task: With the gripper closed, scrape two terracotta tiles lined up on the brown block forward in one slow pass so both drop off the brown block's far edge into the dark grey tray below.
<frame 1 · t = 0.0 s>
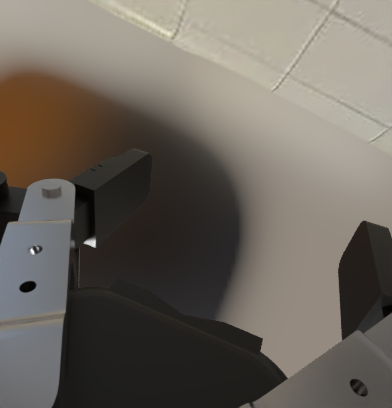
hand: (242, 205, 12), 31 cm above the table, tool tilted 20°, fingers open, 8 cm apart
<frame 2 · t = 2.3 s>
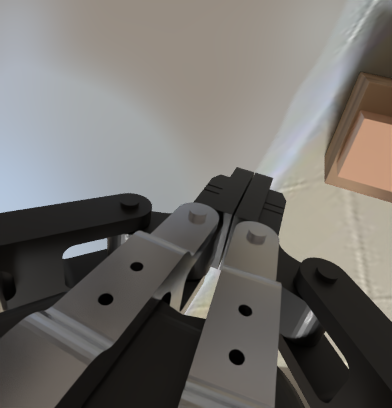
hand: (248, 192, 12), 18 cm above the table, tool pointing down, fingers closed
tile a: (377, 145, 21), point 6 cm above the table, touching brown block
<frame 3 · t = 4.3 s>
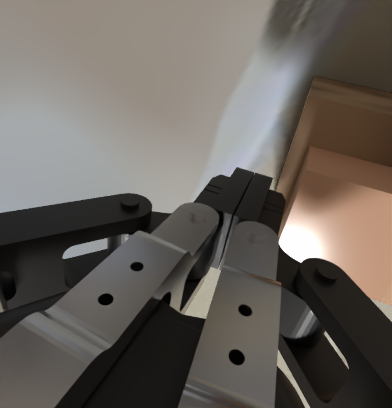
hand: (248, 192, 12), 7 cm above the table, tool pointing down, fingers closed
brown block: (372, 165, 17), on the table
tile a: (342, 205, 12), point 6 cm above the table, touching brown block, gripper, tile b
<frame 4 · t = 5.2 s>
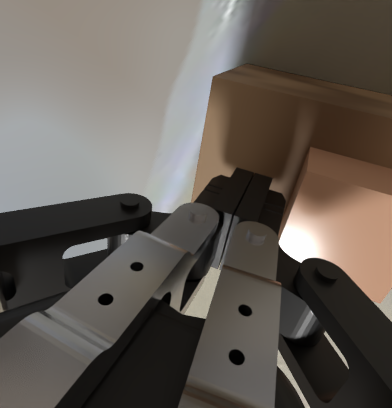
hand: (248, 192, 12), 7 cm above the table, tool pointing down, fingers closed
brown block: (305, 149, 18), on the table
tile a: (342, 206, 12), point 6 cm above the table, touching brown block, gripper
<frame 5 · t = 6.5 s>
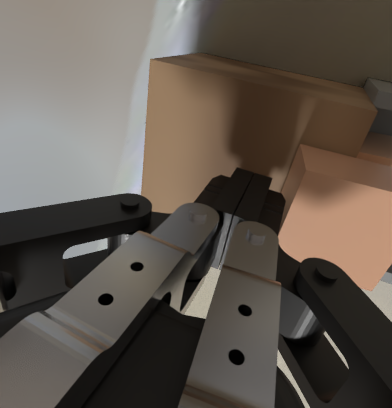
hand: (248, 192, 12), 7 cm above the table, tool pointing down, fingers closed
brown block: (258, 134, 19), on the table
tile a: (330, 200, 13), point 6 cm above the table, tilted 9°, touching brown block, gripper
tile b: (336, 175, 15), point 3 cm above the table, tilted 90°, touching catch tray
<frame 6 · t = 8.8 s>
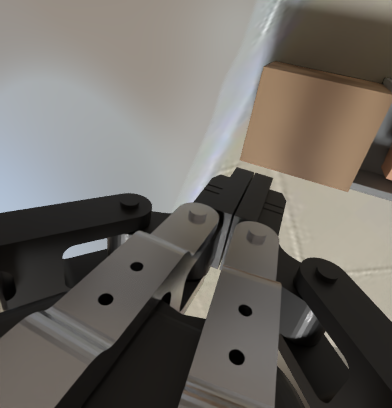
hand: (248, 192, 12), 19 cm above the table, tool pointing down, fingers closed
brown block: (310, 115, 28), on the table
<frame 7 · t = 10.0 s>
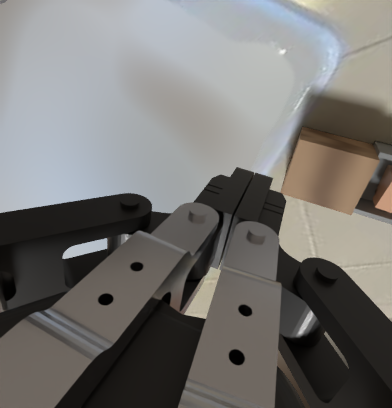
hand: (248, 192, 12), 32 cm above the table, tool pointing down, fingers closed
brown block: (325, 161, 42), on the table
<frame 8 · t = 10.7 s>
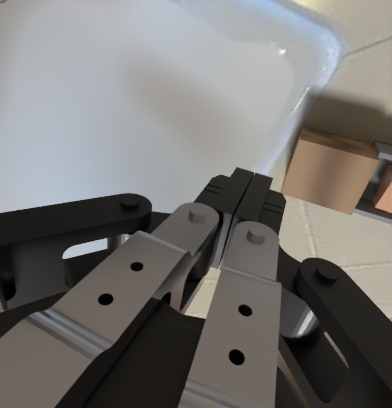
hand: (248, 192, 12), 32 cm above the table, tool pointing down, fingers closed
brown block: (325, 161, 42), on the table
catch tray: (391, 178, 40), on the table
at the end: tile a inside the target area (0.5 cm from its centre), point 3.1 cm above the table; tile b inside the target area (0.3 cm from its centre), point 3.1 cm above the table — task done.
